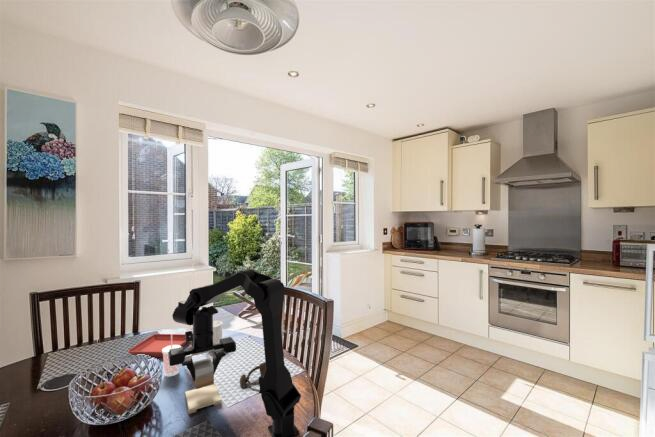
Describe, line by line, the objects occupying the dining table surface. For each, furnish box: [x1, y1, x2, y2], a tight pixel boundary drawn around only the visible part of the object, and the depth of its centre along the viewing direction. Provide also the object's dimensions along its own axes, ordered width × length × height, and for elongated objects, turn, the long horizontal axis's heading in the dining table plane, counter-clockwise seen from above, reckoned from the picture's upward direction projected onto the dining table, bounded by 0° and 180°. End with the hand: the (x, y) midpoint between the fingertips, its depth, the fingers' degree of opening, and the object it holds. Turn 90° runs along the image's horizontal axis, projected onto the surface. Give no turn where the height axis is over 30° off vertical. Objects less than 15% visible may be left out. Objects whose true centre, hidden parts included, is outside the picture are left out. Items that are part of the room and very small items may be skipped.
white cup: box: [213, 320, 224, 344], centre depth 131 cm, size 8×8×10 cm
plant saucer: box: [127, 333, 188, 358], centre depth 128 cm, size 18×18×3 cm
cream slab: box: [184, 383, 223, 415], centre depth 93 cm, size 10×9×2 cm
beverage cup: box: [162, 333, 181, 377], centre depth 109 cm, size 6×6×14 cm
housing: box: [193, 357, 215, 389], centre depth 93 cm, size 6×5×6 cm
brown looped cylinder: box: [239, 362, 266, 388], centre depth 103 cm, size 7×13×10 cm
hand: (203, 377), depth 93 cm, fingers closed on housing, 5 cm apart
